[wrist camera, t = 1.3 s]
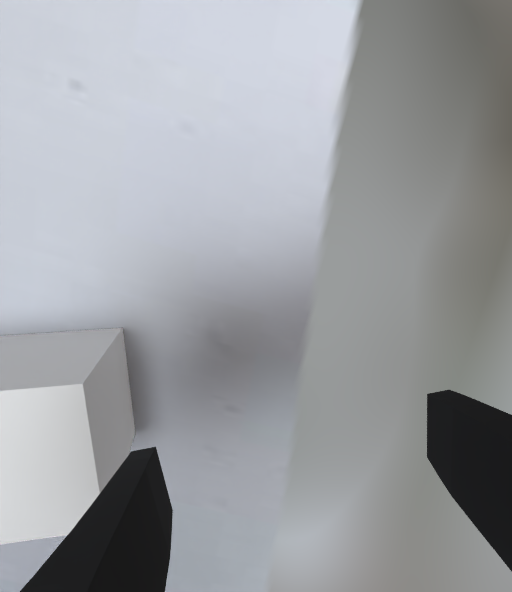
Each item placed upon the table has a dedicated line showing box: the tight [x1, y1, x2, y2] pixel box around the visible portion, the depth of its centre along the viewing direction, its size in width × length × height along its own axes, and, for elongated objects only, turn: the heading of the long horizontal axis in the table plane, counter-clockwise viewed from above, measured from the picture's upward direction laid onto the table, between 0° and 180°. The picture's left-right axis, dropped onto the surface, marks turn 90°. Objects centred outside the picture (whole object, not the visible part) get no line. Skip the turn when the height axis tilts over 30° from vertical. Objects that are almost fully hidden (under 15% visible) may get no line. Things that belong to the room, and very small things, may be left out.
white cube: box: [0, 327, 136, 545], centre depth 15 cm, size 6×6×6 cm
